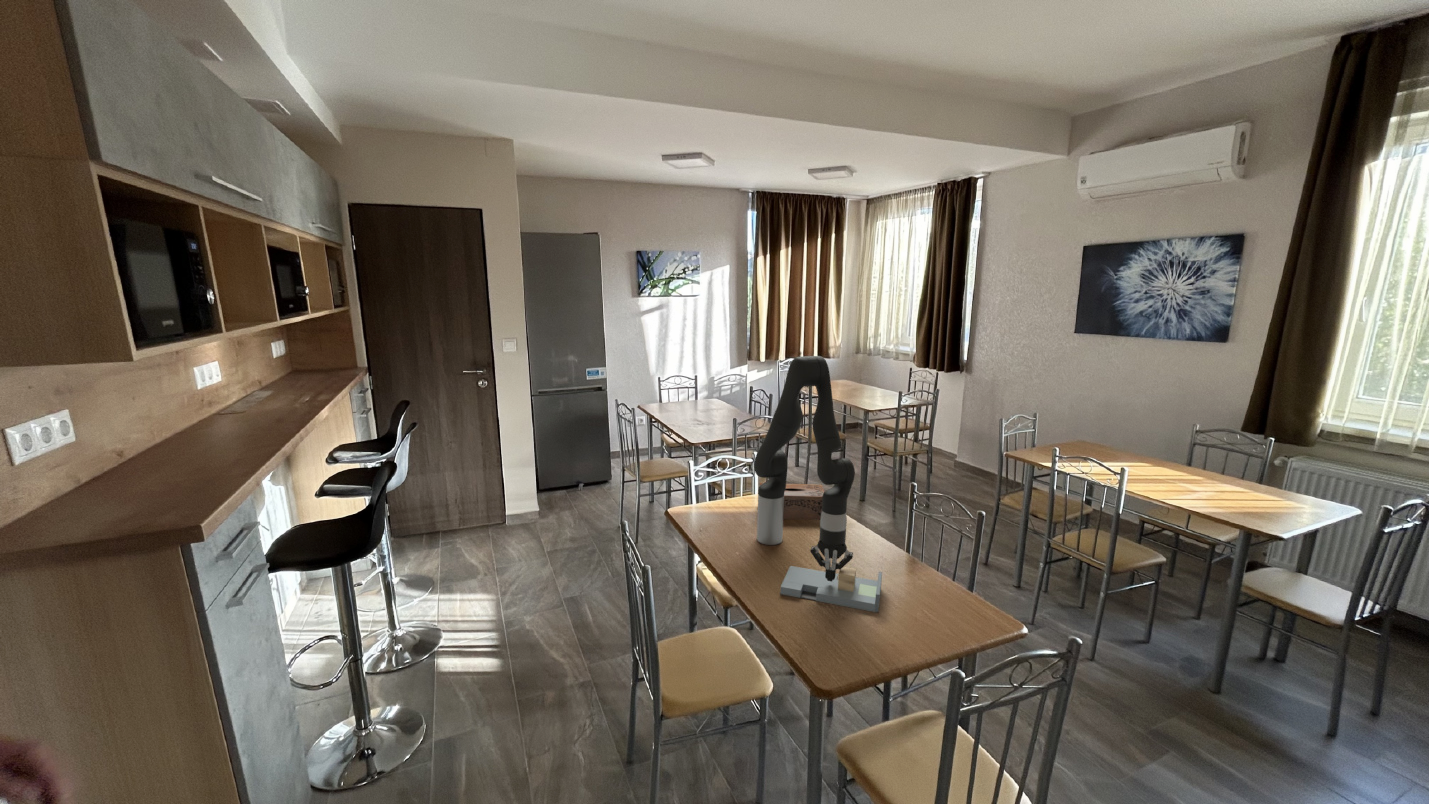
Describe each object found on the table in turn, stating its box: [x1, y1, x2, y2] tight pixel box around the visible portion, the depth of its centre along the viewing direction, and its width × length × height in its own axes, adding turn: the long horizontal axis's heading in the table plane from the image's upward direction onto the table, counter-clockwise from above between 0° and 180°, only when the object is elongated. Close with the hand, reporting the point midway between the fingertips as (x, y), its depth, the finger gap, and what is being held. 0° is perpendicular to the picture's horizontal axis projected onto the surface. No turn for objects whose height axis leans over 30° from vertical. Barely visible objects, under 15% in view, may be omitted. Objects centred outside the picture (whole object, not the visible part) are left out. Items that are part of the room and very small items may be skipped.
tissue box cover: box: [759, 482, 826, 521], centre depth 229 cm, size 26×14×10 cm, turn 88°
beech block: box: [838, 566, 857, 592], centre depth 167 cm, size 4×4×5 cm
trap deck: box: [779, 565, 883, 613], centre depth 169 cm, size 14×28×5 cm, turn 71°
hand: (830, 579), depth 168 cm, fingers closed
